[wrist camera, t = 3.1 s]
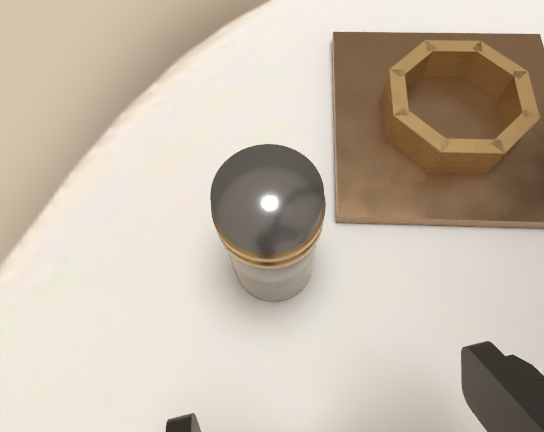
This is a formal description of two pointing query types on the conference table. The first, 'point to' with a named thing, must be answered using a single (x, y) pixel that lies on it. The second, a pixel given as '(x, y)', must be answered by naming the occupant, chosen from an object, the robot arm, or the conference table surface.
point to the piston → (269, 218)
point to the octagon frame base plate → (439, 129)
